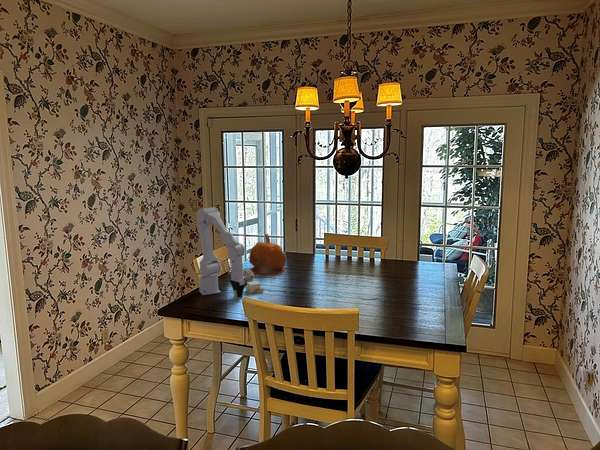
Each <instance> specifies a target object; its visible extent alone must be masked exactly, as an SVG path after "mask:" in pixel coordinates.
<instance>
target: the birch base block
mask: <svg viewBox="0 0 600 450" xmlns="http://www.w3.org/2000/svg"><path fill="white" fill-rule="evenodd" d="M245 291H246V292H247V293H248V294H249V295H255V294H259V293H261V292H262V293H264V287H262V286H261V288H259V289H252V290H250V289H249V288H248V287H247V286H245ZM262 293H261V294H262Z"/></svg>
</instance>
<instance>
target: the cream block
mask: <svg viewBox="0 0 600 450" xmlns="http://www.w3.org/2000/svg"><path fill="white" fill-rule="evenodd" d="M246 285H247V286H246V287H248V288H249V289H250V290H252V289H259V288H261V287H262V286H261V283H260V282H259V281H258V280H252V282H247V283H246Z"/></svg>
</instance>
